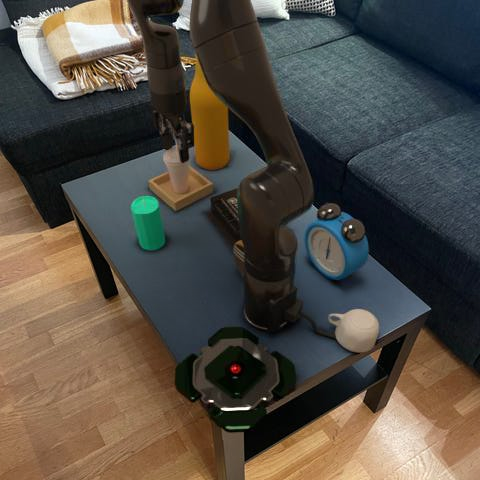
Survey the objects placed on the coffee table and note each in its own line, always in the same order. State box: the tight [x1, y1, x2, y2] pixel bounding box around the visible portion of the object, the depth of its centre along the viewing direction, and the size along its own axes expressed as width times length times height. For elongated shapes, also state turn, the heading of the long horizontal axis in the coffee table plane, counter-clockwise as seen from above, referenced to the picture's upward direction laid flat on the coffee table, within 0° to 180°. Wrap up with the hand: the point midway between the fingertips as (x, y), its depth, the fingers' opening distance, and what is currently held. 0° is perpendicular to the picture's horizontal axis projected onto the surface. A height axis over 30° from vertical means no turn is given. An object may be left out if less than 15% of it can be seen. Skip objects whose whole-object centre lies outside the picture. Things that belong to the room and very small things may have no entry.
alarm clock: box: [304, 202, 370, 283], centre depth 97 cm, size 13×6×15 cm, turn 37°
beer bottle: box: [189, 54, 231, 171], centre depth 117 cm, size 9×9×29 cm
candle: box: [130, 195, 166, 251], centre depth 104 cm, size 6×6×12 cm
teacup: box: [327, 308, 380, 354], centre depth 89 cm, size 10×8×5 cm
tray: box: [147, 165, 214, 212], centre depth 119 cm, size 12×12×3 cm
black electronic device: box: [205, 187, 241, 250], centre depth 105 cm, size 20×14×17 cm
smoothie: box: [162, 139, 191, 193], centre depth 114 cm, size 6×6×14 cm
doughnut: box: [232, 240, 244, 278], centre depth 98 cm, size 9×4×10 cm, turn 32°
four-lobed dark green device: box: [174, 326, 297, 434], centre depth 84 cm, size 18×18×5 cm
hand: (176, 154), depth 112 cm, fingers closed on smoothie, 6 cm apart
